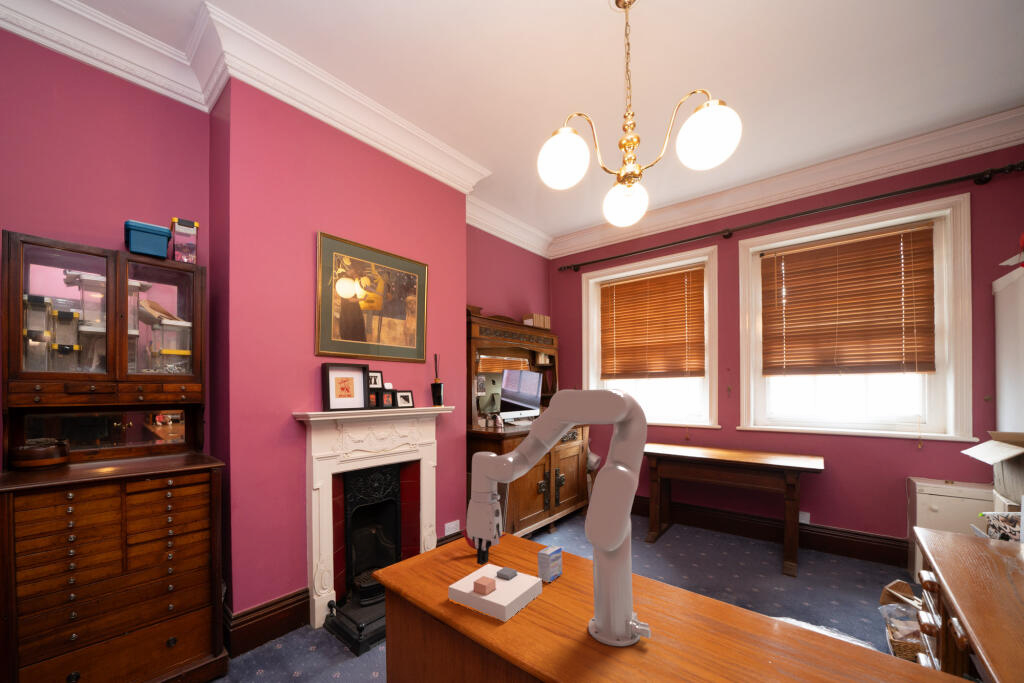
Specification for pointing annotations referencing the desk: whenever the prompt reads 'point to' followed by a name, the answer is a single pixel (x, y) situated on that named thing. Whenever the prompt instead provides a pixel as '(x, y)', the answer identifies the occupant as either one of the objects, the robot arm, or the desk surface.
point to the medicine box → (550, 563)
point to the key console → (497, 592)
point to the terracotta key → (484, 585)
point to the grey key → (506, 573)
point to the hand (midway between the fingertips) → (482, 562)
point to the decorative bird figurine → (470, 541)
